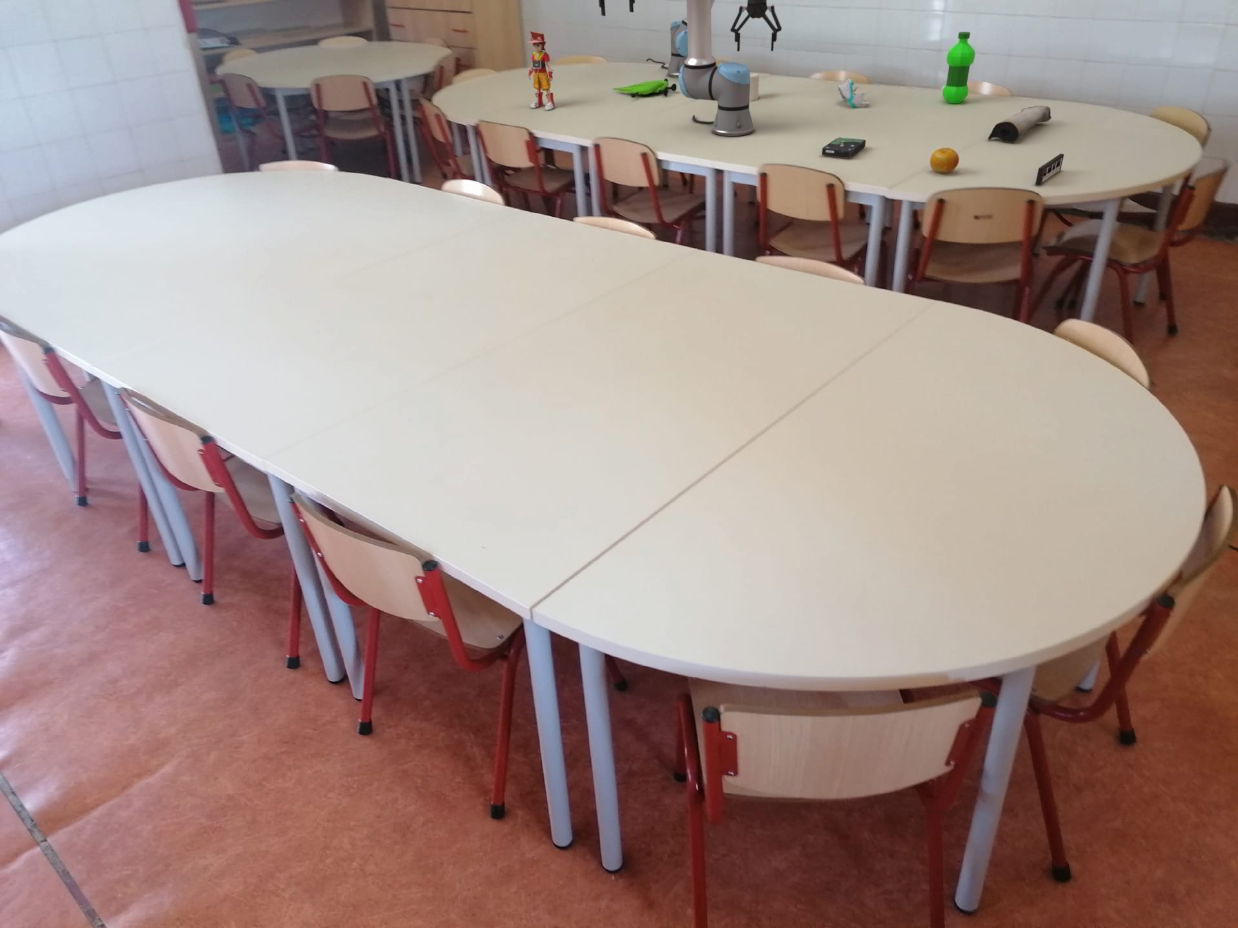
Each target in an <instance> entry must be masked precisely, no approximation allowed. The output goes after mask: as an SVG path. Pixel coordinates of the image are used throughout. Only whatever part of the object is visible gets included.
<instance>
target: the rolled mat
mask: <svg viewBox="0 0 1238 928" xmlns="http://www.w3.org/2000/svg"><path fill="white" fill-rule="evenodd" d="M1051 113H1052V112H1051V107H1050V106H1048V105H1047V106H1045V105H1033V106H1027V107H1024V108H1022V109H1021V110H1020V112H1018V113H1015V114H1013V115H1012V116H1009V117H1007V118H1005V119H1003V120H1001V121H1000V122H997V123H996V124H995V125H994V126H993V128H992V130H991V132H990V133H989V136H988V137H987V140H988V141H990V140H991V139H999V140H1000V141H1002V142H1006V143H1011V144H1013V143H1016V142H1017V141H1018V140H1019V139H1020V138H1021V137H1023V135H1024V134H1026V132H1027V131H1029V130H1030V129H1031V128H1033V127H1034V126H1035V125H1036V124H1040V123H1046V122H1049V121H1050V120H1051V119H1052V114H1051Z"/></svg>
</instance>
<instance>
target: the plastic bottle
mask: <svg viewBox="0 0 1238 928" xmlns="http://www.w3.org/2000/svg"><path fill="white" fill-rule="evenodd" d="M970 36H971V32H970V31H959V32H958V36H957V39H958V42H957V43H956V44H954V45H953V46H952V47H951V48H950V49H949V50H948V52H947V54H946V63H947V64H948V69H947V70H948V71H947V76H946V77H947V78H946V84H945V85H944V87H943V90H942V97H943V99H944V100H945V101H946V102H947V103H948V104H960V103H961V102H963V101H964V100H966V98H967V96H968V95H969V85H968V79H969V73H970V67H971V65H972V64H973V63H974V61H975V57H976V51H975V49H974V47H972V45H971V44H970V43H969V42H968V41H969V39H970V38H971V37H970Z"/></svg>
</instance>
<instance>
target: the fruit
mask: <svg viewBox="0 0 1238 928" xmlns="http://www.w3.org/2000/svg"><path fill="white" fill-rule="evenodd" d="M959 163H960V156H959V154H958V152H957V151H956V150H955V149H953V148H951V147H942V148H938V149H936V150H934V151H933V153H932V154H931V155H930V159H929V166H930V168H931V169H932V170H933V171H934V172H936V173H939V174H940V173H943V174H944V173H945V174H946V173H951V172H953V171H954V170H956V168H957V167H958V165H959Z"/></svg>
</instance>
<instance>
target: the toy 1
mask: <svg viewBox="0 0 1238 928" xmlns="http://www.w3.org/2000/svg"><path fill="white" fill-rule="evenodd" d="M529 33H530V35H531V36H528V37H527V38H528V39H529V40H528V41H527V43H529V44H530V43H531V44H532V48H533V50H534V51H533V52H532V55H531V58H530V59H531V63H530V66H528V74H527V75H528V76H527V77H528V79H529V80H531V75H532V74H533V84H532V85H533V86H532V87H533V88H534V89H535V90H536V92H534V95H535V97H536V100H535V101H533V102H531V105H530V108H531V109H535V108H538V107H542V106H544V101H543V100H544V99H543V95H544V92H546V94H545V97H546V99H547V103H546V104H545V106H544V110H546V111H549V110H553V109H554V107H555V106H556V105H555V99H554V92H551V91H550V90H551V86H552V84H551V82H552V81H553V80H554V77H553V73H554V71H555V70H554V69H552V68H551V63H550V61H551V59H550V58H551V57H550V54H549V53H548V52H547V50H546V48H545V46H546V44H547V41H545V35H544V33H543V32H542V33H539V32H535V31H529Z"/></svg>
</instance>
